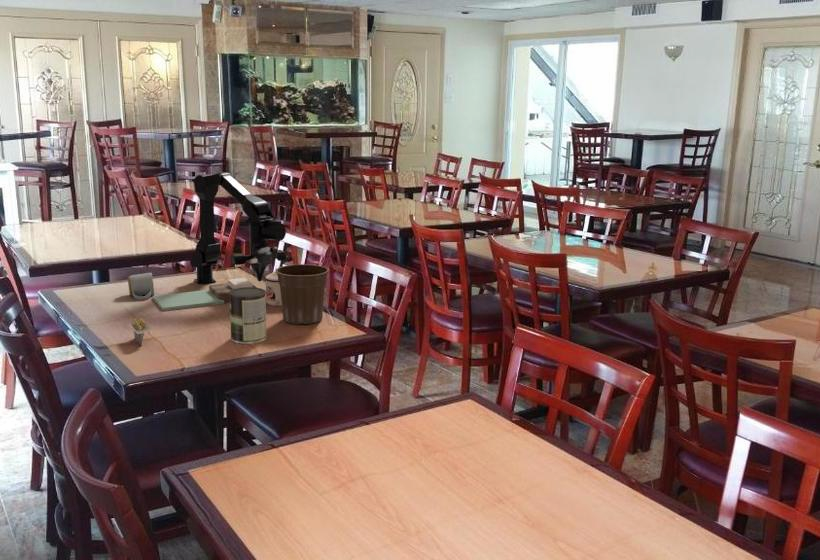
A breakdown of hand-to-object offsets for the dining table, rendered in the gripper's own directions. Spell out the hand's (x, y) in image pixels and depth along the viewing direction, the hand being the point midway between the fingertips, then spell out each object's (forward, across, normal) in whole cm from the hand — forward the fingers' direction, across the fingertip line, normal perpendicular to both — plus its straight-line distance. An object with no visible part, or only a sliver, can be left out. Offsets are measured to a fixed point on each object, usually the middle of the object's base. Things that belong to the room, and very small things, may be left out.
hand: (259, 281), depth 273 cm
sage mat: (+4, -25, 0) cm, 25 cm away
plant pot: (+4, +2, -36) cm, 36 cm away
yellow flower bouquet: (+5, -47, -37) cm, 60 cm away
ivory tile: (+1, -7, 0) cm, 7 cm away
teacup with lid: (+4, +2, -16) cm, 17 cm away
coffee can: (+4, -19, -47) cm, 51 cm away
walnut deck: (+4, -9, 0) cm, 10 cm away
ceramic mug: (+5, -37, +13) cm, 40 cm away
